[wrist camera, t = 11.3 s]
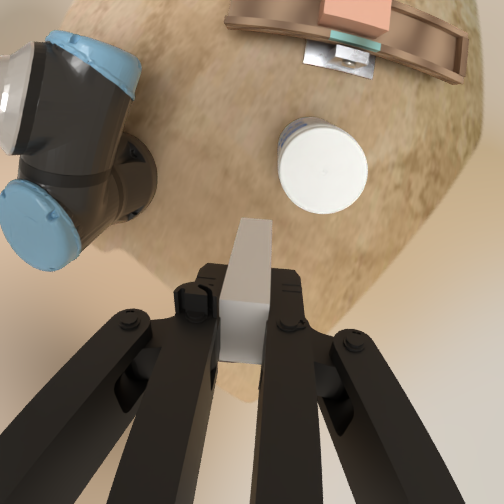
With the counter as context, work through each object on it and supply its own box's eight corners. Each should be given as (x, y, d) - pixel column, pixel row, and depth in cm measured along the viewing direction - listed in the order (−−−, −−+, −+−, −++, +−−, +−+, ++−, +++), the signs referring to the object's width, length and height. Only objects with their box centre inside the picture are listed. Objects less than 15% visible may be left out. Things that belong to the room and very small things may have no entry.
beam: (233, 36, 34) (223, 23, 27) (241, -12, 30) (233, -32, 23) (437, 84, 34) (464, 84, 27) (442, 39, 30) (469, 32, 23)
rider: (317, 25, 28) (323, 13, 23) (321, -5, 26) (327, -21, 21) (374, 39, 28) (388, 30, 23) (377, 9, 26) (391, -3, 21)
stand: (302, 64, 37) (308, 55, 29) (314, -13, 30) (321, -35, 23) (370, 80, 37) (390, 76, 29) (380, 4, 30) (400, -12, 23)
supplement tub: (284, 109, 40) (288, 113, 27) (348, 126, 40) (380, 138, 27) (271, 173, 45) (268, 205, 32) (332, 187, 45) (354, 224, 32)
